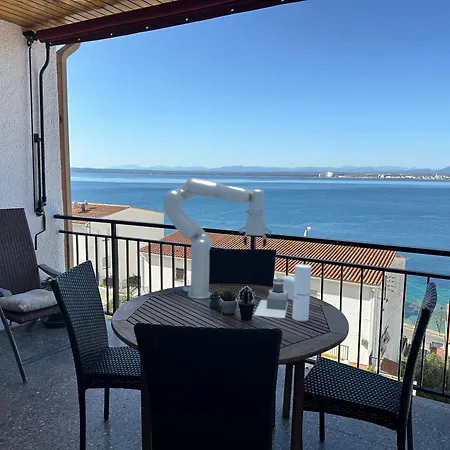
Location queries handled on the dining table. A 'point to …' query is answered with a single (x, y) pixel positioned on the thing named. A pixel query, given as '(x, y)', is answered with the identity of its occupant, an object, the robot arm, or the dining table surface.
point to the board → (269, 310)
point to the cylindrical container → (301, 292)
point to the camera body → (277, 300)
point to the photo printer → (289, 286)
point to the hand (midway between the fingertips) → (254, 245)
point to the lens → (278, 285)
